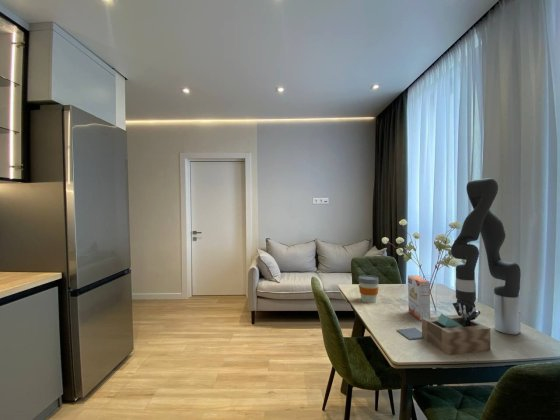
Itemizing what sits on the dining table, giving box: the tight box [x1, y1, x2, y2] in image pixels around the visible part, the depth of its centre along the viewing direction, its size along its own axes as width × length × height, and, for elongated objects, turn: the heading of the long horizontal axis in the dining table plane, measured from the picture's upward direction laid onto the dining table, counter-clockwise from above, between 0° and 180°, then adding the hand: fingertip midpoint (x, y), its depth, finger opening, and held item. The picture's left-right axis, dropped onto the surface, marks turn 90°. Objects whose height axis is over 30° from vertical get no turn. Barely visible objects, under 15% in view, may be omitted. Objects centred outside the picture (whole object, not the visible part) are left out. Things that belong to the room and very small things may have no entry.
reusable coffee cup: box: [358, 274, 380, 304], centre depth 185 cm, size 13×13×15 cm
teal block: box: [437, 313, 464, 328], centre depth 125 cm, size 14×4×4 cm
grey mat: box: [396, 327, 424, 341], centre depth 135 cm, size 10×10×1 cm
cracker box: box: [407, 274, 431, 321], centre depth 158 cm, size 14×6×21 cm, turn 179°
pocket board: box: [421, 314, 491, 356], centre depth 125 cm, size 20×16×9 cm
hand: (466, 327), depth 127 cm, fingers closed
